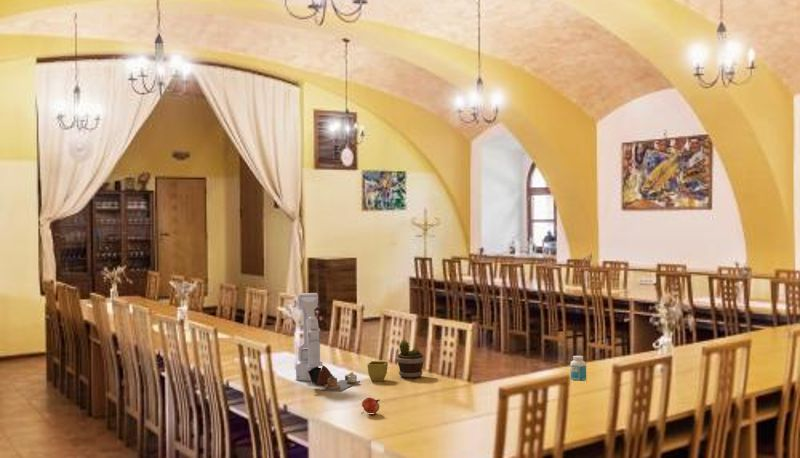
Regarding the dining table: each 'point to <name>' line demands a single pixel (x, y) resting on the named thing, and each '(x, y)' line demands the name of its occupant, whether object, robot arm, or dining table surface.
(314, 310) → the robot arm
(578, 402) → the dining table surface
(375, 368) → the flower pot
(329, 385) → the tan rock
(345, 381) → the mat
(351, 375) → the hub
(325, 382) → the poop emoji
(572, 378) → the pill bottle
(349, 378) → the clutch plate
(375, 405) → the pomegranate
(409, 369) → the flowerpot
